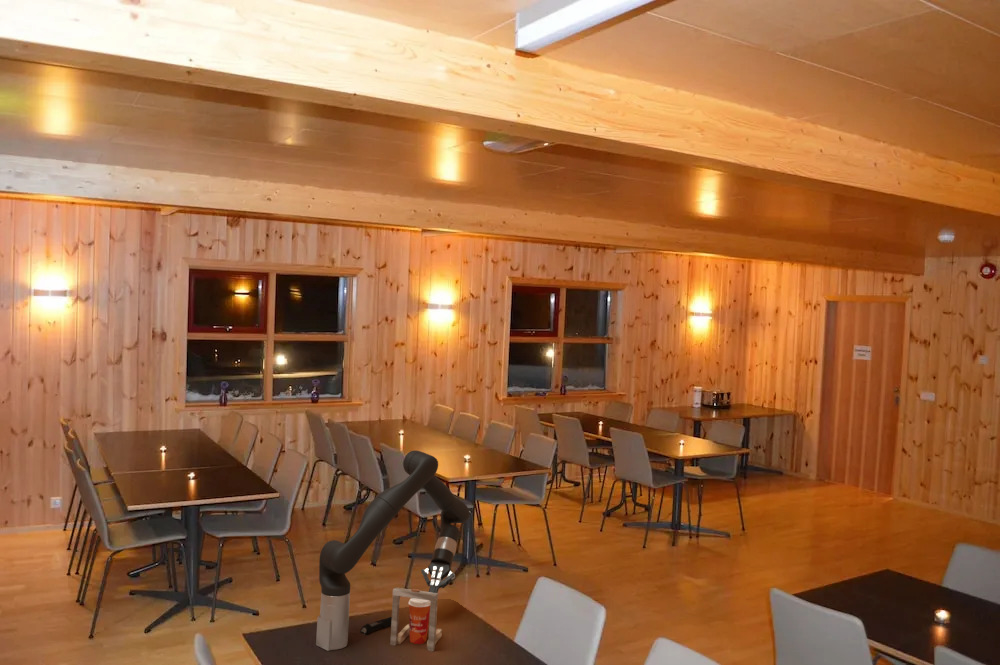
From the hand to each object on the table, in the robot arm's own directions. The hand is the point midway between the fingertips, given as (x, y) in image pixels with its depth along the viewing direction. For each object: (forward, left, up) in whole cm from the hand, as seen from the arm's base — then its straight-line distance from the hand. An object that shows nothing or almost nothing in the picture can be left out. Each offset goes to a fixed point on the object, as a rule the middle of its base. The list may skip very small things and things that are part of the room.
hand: (431, 597), depth 275 cm
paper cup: (-11, -5, -11) cm, 17 cm away
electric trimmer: (-13, +12, -11) cm, 21 cm away
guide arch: (-12, -6, -10) cm, 17 cm away
